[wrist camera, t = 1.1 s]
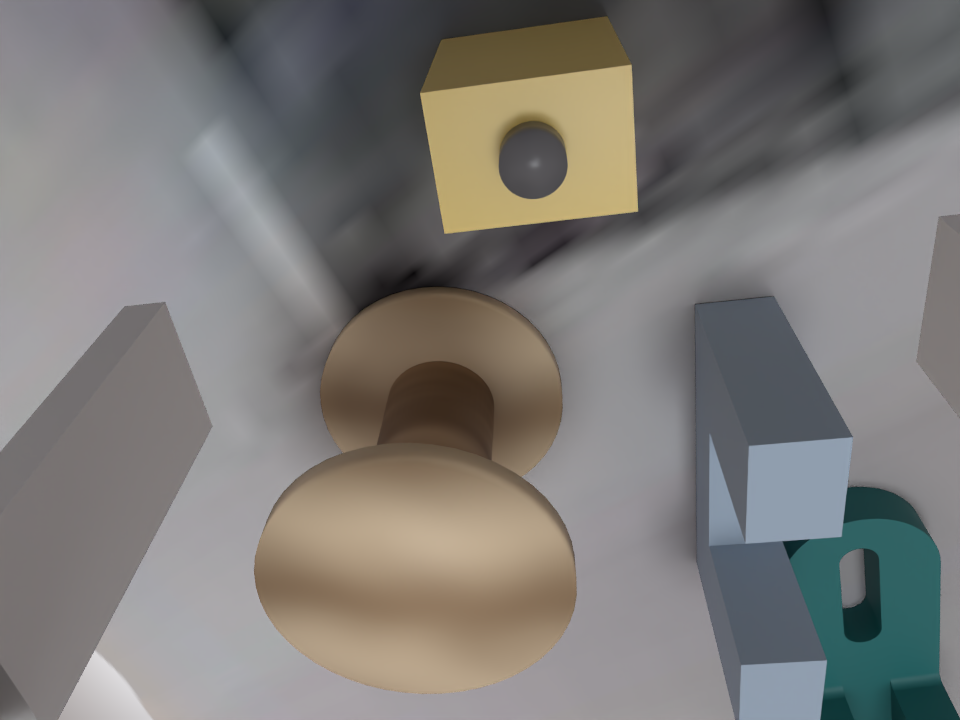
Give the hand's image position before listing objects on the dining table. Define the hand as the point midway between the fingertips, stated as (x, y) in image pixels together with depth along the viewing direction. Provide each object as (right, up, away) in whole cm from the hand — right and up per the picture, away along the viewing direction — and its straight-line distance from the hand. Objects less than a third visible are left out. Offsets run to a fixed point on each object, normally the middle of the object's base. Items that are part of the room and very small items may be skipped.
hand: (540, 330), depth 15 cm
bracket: (+17, -13, +27) cm, 35 cm away
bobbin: (-3, -2, +21) cm, 21 cm away
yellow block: (+1, +9, +14) cm, 17 cm away
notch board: (+10, -4, +21) cm, 24 cm away
